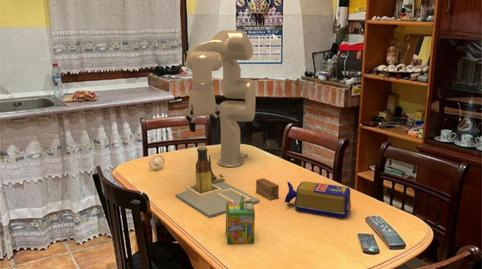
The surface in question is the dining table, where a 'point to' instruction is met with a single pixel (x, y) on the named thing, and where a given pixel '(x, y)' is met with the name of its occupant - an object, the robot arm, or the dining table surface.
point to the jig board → (213, 198)
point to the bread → (320, 199)
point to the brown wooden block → (267, 189)
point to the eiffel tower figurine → (214, 180)
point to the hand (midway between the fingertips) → (203, 129)
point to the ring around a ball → (156, 162)
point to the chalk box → (240, 222)
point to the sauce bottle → (203, 172)
